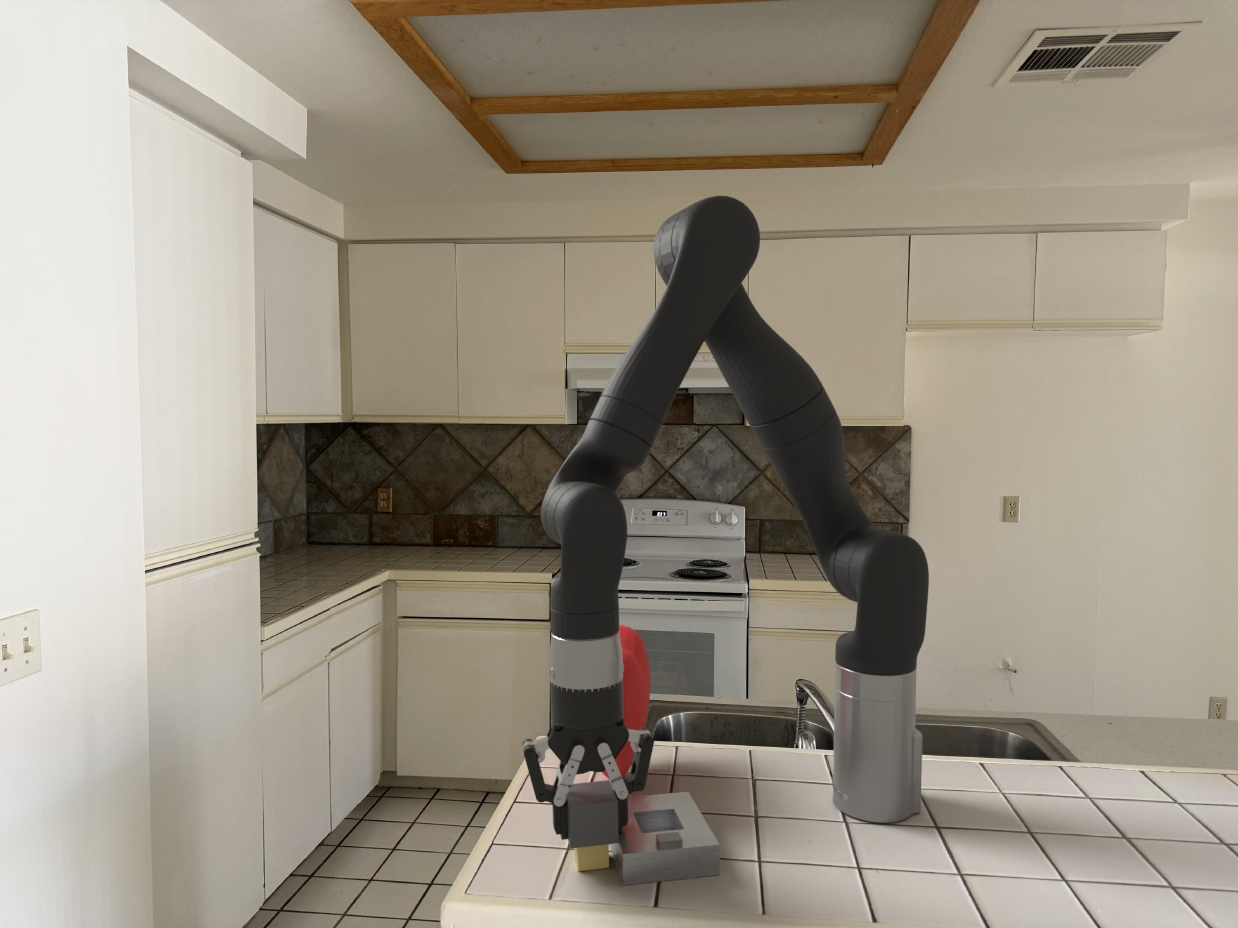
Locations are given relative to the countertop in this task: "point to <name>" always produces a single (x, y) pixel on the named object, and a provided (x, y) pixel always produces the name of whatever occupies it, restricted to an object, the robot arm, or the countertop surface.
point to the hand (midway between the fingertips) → (590, 831)
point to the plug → (592, 823)
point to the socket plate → (665, 841)
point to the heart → (633, 690)
